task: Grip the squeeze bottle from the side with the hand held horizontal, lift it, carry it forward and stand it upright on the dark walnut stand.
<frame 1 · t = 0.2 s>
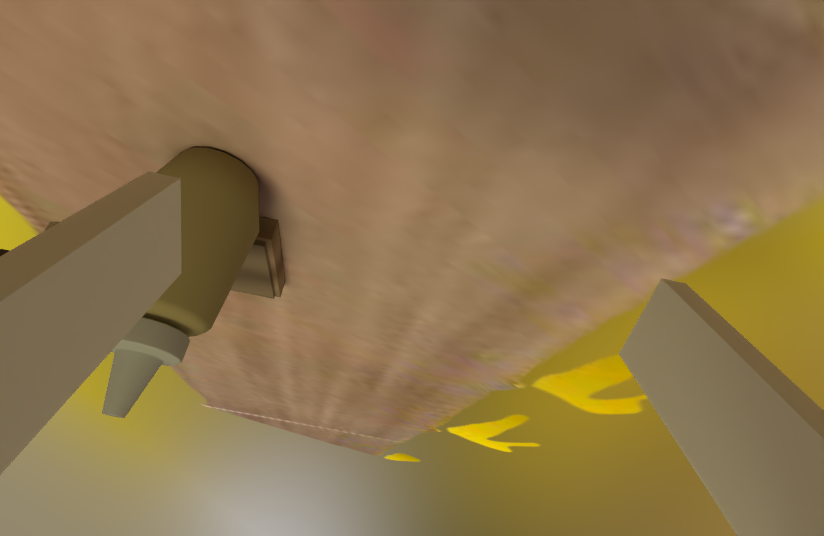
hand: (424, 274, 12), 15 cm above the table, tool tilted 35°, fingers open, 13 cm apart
stand: (219, 241, 44), on the table
squeeze bottle: (221, 170, 35), on the table
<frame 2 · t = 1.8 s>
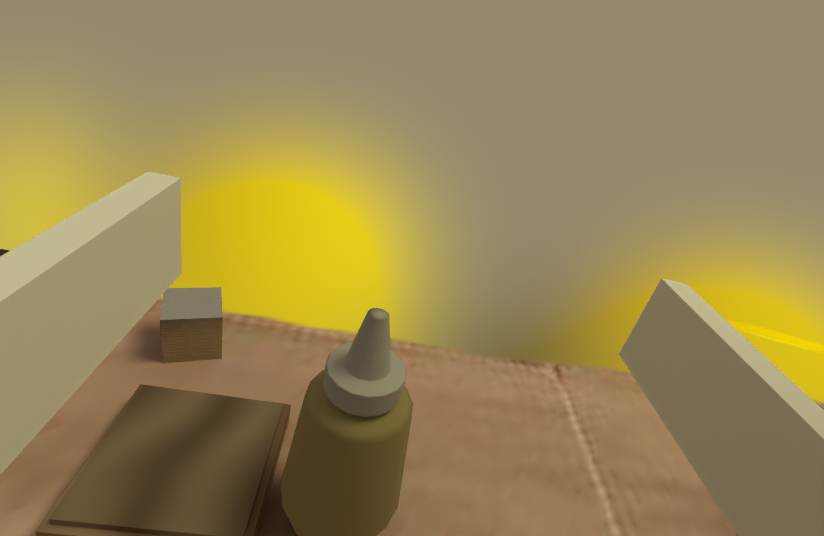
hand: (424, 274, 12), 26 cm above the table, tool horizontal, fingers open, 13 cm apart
stand: (187, 474, 33), on the table
squeeze bottle: (334, 519, 33), on the table
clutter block: (193, 344, 45), on the table
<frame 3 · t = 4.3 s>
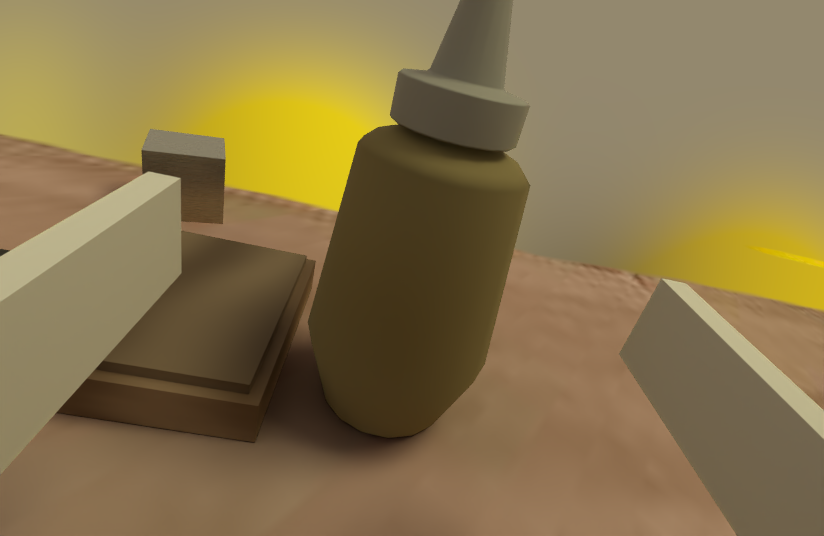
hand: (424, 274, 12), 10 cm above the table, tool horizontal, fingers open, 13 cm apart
stand: (169, 326, 23), on the table
squeeze bottle: (382, 394, 22), on the table
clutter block: (186, 208, 35), on the table
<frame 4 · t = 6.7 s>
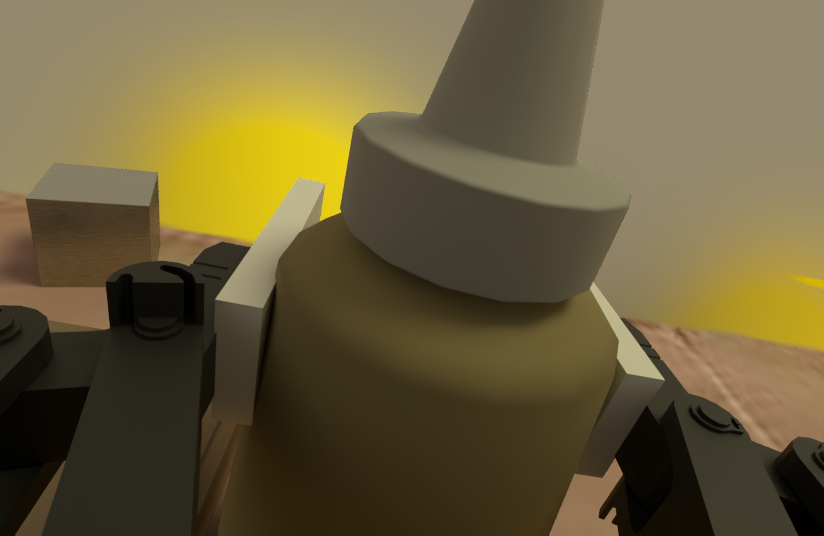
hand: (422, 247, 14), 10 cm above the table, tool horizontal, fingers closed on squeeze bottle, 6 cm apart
stand: (19, 494, 15), on the table
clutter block: (107, 264, 26), on the table
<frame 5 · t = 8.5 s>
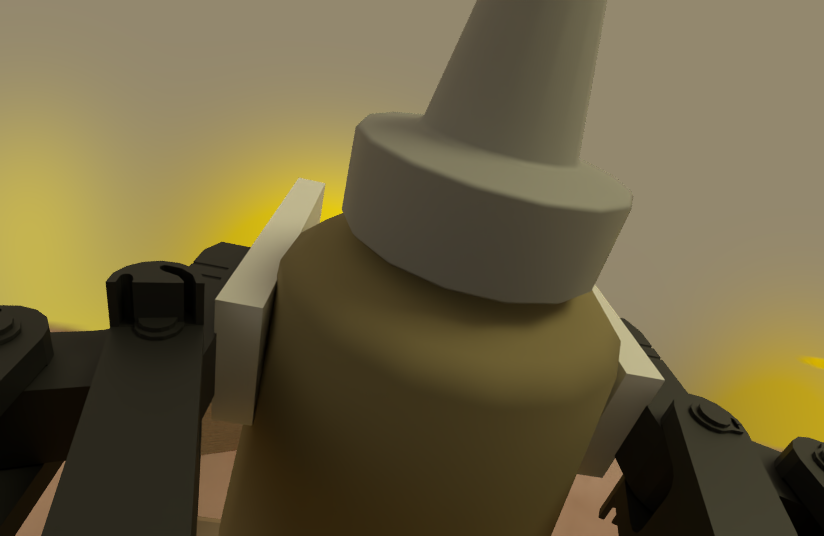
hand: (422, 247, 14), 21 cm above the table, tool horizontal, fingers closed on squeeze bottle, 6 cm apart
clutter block: (225, 422, 32), on the table
when the fingers open (14 cm above the table, at t = 10.6 s): squeeze bottle drops 1 cm, resting on stand.
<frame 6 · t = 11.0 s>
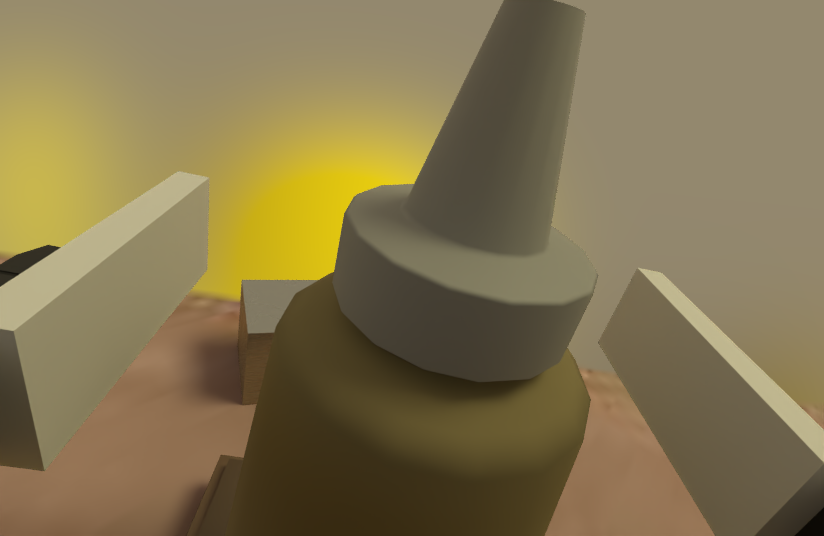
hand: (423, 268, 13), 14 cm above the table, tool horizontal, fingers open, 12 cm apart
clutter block: (283, 371, 28), on the table
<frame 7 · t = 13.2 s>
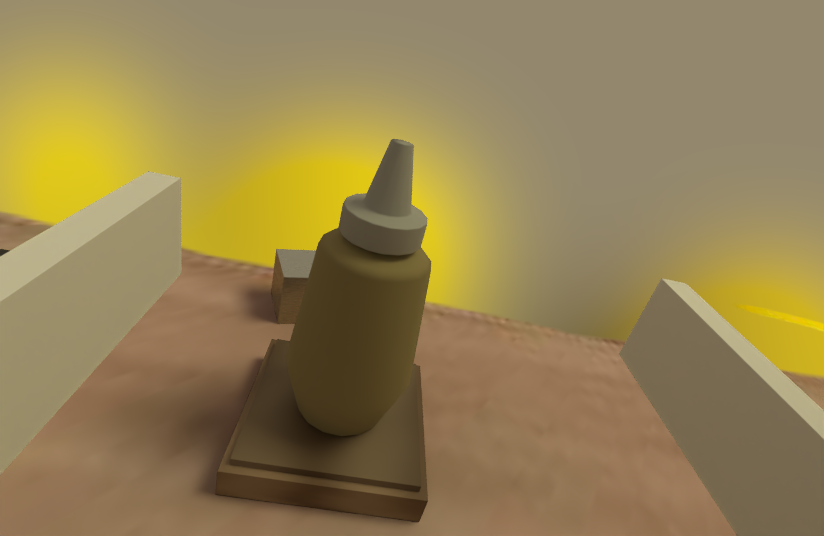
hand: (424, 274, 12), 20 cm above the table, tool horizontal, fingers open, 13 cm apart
stand: (333, 428, 32), on the table
squeeze bottle: (340, 405, 31), point 2 cm above the table, touching stand
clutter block: (300, 308, 44), on the table
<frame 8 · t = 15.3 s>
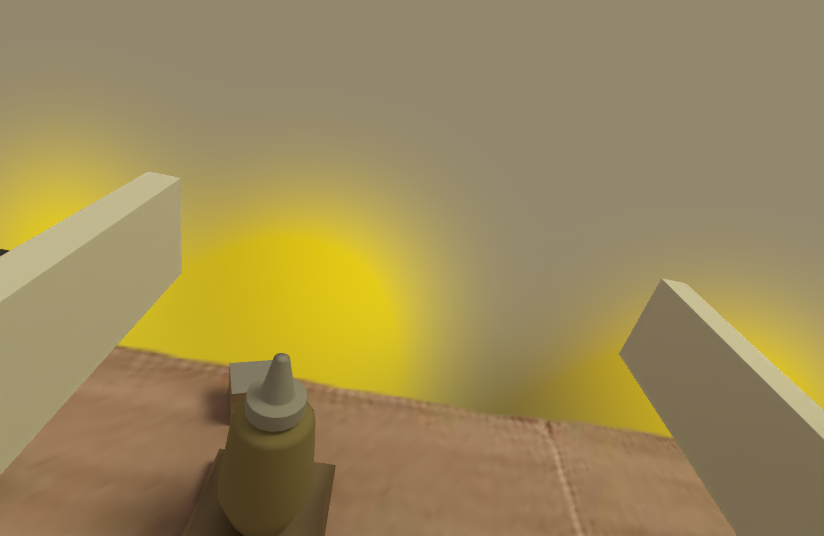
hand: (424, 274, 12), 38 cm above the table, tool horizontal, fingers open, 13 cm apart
stand: (260, 524, 43), on the table
squeeze bottle: (263, 509, 42), point 2 cm above the table, touching stand
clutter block: (251, 407, 55), on the table
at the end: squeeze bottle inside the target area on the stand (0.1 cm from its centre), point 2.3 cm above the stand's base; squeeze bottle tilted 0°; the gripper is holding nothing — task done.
